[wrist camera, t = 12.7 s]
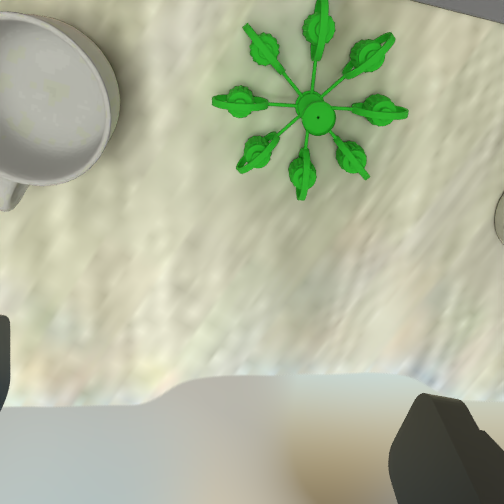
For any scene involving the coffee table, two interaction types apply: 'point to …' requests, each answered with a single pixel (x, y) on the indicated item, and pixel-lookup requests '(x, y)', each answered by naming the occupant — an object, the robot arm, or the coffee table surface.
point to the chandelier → (312, 101)
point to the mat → (472, 7)
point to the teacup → (50, 104)
